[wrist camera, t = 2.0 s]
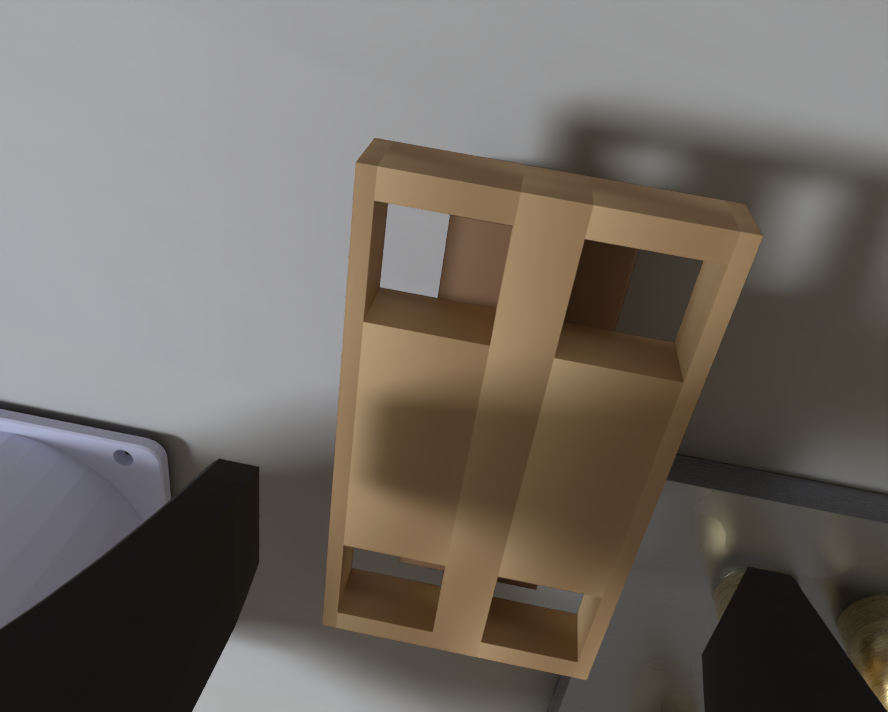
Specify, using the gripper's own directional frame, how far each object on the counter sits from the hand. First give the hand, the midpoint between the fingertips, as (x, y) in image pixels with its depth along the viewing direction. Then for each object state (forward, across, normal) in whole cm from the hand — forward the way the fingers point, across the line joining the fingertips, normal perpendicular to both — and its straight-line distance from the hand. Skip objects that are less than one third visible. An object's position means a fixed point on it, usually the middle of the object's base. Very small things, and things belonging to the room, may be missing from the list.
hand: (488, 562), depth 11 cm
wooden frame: (+3, 0, 0) cm, 3 cm away
